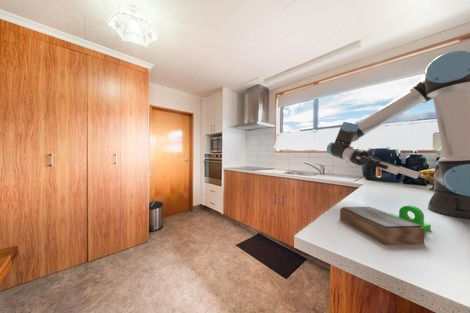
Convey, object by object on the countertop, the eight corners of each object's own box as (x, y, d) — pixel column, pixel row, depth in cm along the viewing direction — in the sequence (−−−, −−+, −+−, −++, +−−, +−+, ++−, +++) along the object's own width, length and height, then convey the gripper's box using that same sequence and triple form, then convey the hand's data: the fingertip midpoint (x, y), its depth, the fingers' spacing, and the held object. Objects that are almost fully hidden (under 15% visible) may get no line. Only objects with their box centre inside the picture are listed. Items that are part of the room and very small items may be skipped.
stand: (368, 218, 65) (368, 206, 65) (424, 243, 47) (424, 226, 47) (339, 219, 64) (340, 206, 64) (385, 244, 46) (385, 227, 46)
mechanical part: (430, 230, 56) (431, 207, 55) (420, 233, 54) (420, 208, 54) (387, 217, 67) (388, 198, 67) (378, 219, 65) (378, 199, 65)
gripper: (368, 166, 87) (420, 185, 68) (335, 159, 78) (384, 178, 59) (374, 153, 85) (430, 168, 66) (341, 144, 77) (394, 159, 57)
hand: (408, 173), depth 63 cm, fingers open, 13 cm apart
